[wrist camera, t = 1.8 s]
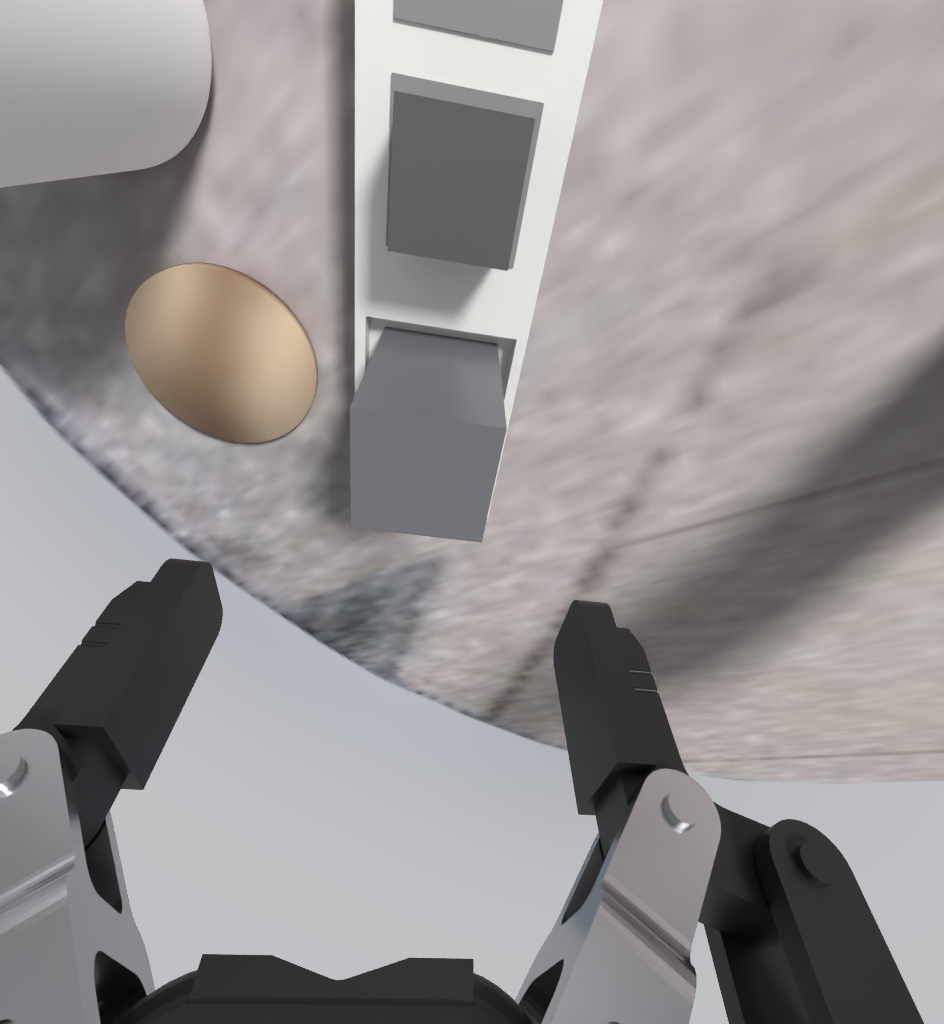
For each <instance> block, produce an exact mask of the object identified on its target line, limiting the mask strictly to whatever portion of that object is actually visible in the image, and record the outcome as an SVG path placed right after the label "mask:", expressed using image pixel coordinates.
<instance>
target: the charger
mask: <svg viewBox="0 0 944 1024" xmlns="http://www.w3.org/2000/svg"><path fill="white" fill-rule="evenodd" d="M506 430H507V426H506V417H505V408H504V398H503V389H502V380H501V371H500V362H499V353H498V344H497V343H490V342H484V341H477V340H471V339H464V338H458V337H451V336H445V335H438V334H432V333H425V332H419V331H412V330H406V329H399V328H393V327H386V326H385V328H384V330H383V333H382V335H381V337H380V339H379V342H378V344H377V346H376V349H375V351H374V353H373V355H372V358H371V360H370V362H369V364H368V367H367V369H366V371H365V373H364V376H363V378H362V380H361V383H360V385H359V387H358V389H357V392H356V394H355V396H354V398H353V401H352V403H351V405H350V523H351V527H352V528H361V529H370V530H379V531H387V532H396V533H405V534H413V535H422V536H431V537H440V538H448V539H457V540H466V541H474V542H482V538H483V534H484V529H485V525H486V520H487V516H488V511H489V507H490V502H491V497H492V493H493V488H494V484H495V479H496V475H497V470H498V466H499V461H500V457H501V452H502V448H503V443H504V439H505V434H506Z"/></svg>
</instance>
